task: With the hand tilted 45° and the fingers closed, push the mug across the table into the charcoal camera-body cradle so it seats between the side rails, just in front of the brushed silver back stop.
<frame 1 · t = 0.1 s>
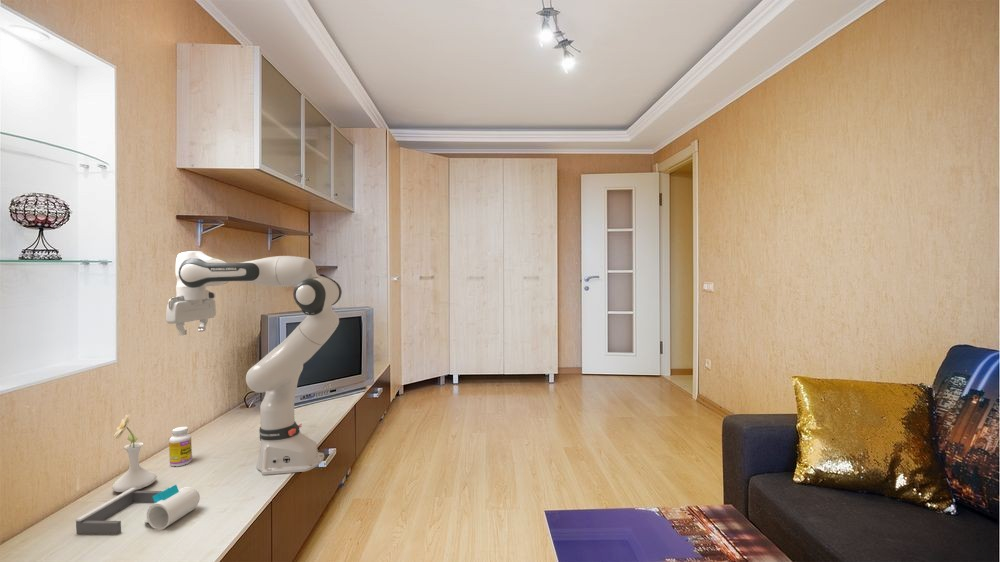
hand: (192, 333, 162), 48 cm above the tv stand, tool pointing down, fingers open, 8 cm apart
flower in vase: (134, 488, 145), on the tv stand
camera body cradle: (135, 516, 128), on the tv stand
supplement bottle: (181, 463, 164), on the tv stand
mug: (171, 517, 127), on the tv stand
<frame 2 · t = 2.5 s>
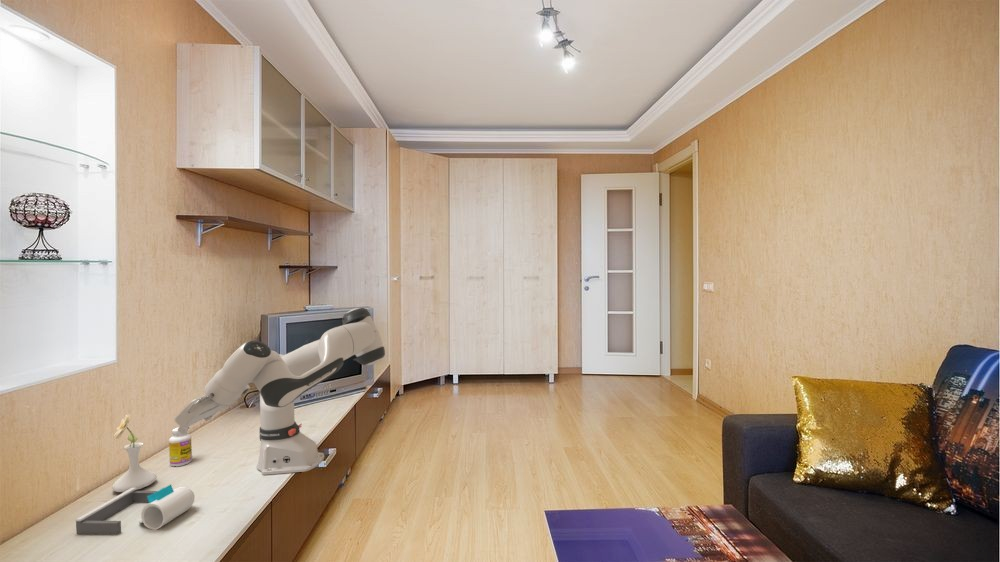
hand: (194, 424, 126), 27 cm above the tv stand, tool tilted 45°, fingers open, 8 cm apart
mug: (166, 517, 127), on the tv stand
everything else where it was.
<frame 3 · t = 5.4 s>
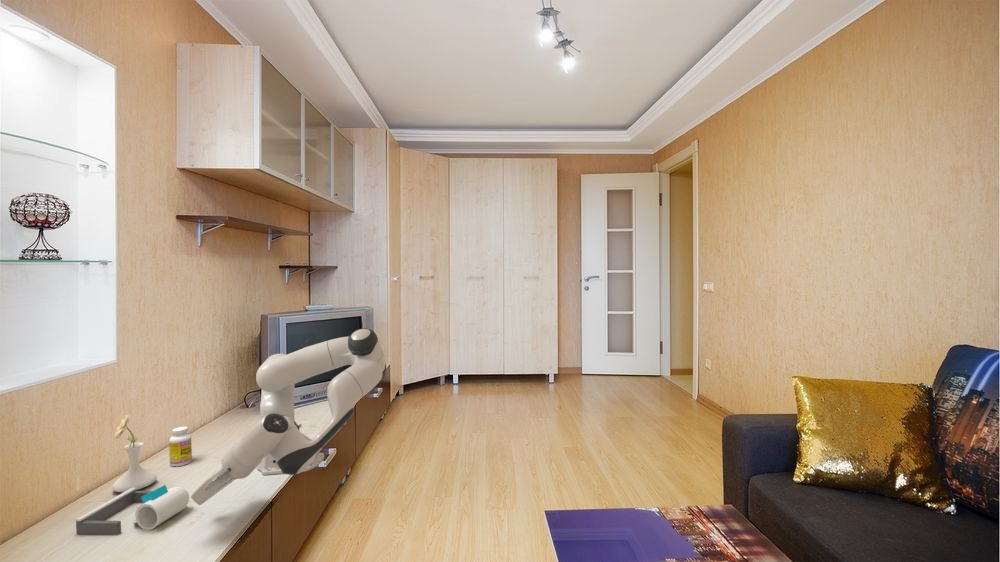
hand: (207, 496, 126), 6 cm above the tv stand, tool tilted 45°, fingers closed
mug: (160, 518, 127), on the tv stand
everything else where it was.
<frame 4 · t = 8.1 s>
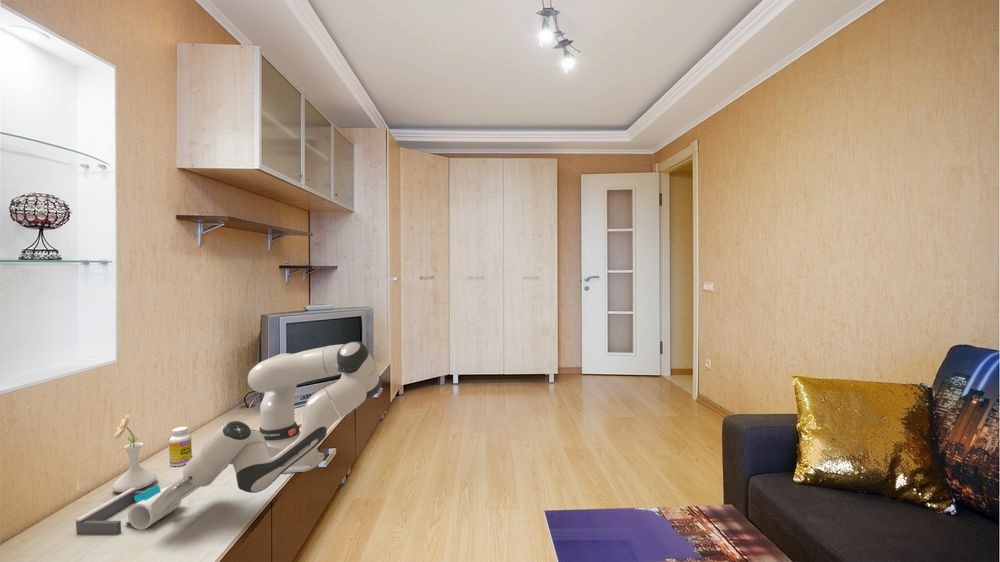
hand: (170, 504, 126), 4 cm above the tv stand, tool tilted 45°, fingers closed
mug: (153, 517, 127), on the tv stand, touching gripper
everything else where it was.
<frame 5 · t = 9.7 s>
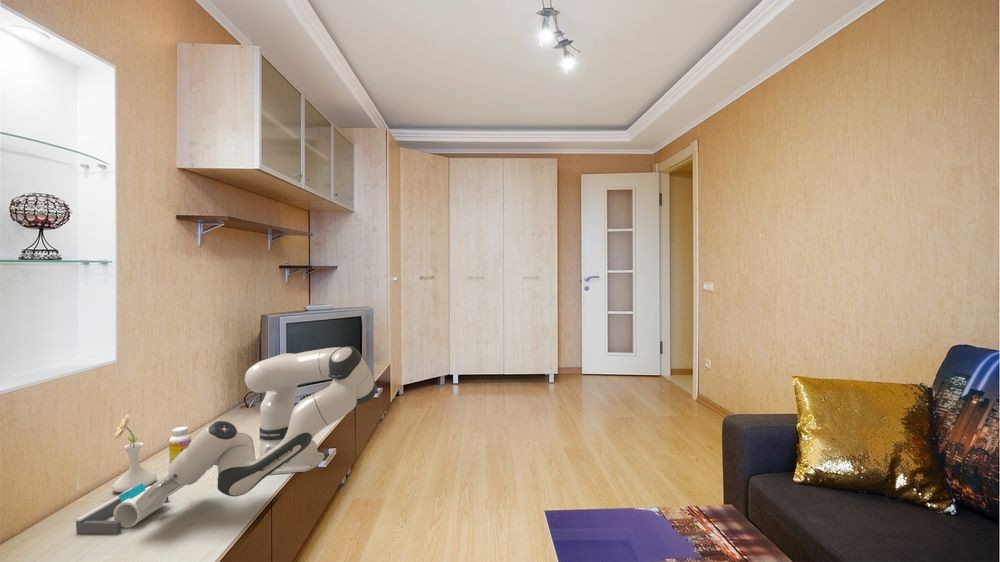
hand: (156, 501, 127), 4 cm above the tv stand, tool tilted 45°, fingers closed
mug: (138, 516, 128), on the tv stand, touching gripper
everything else where it was.
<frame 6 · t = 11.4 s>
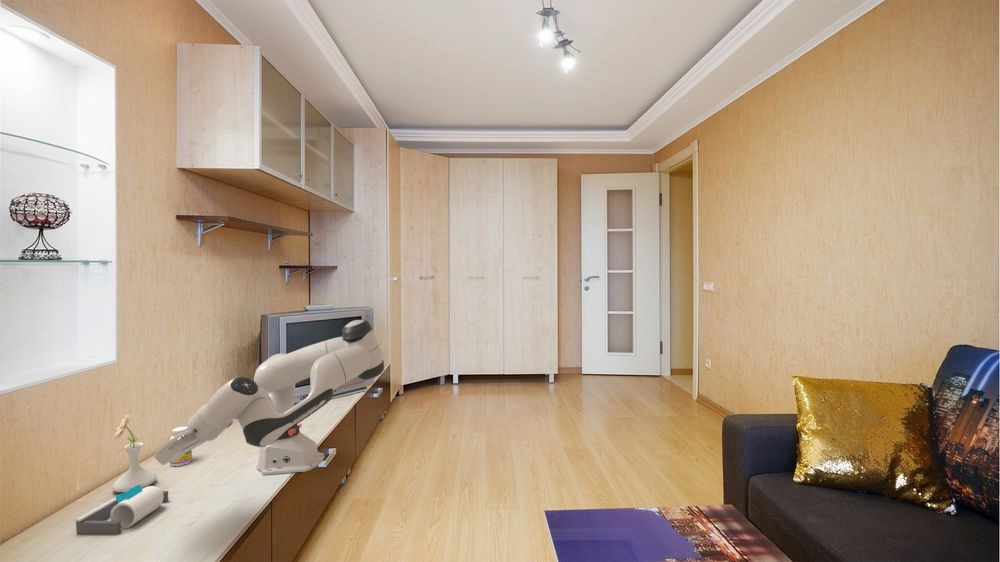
hand: (173, 458, 124), 18 cm above the tv stand, tool tilted 45°, fingers closed
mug: (134, 517, 128), on the tv stand
everything else where it was.
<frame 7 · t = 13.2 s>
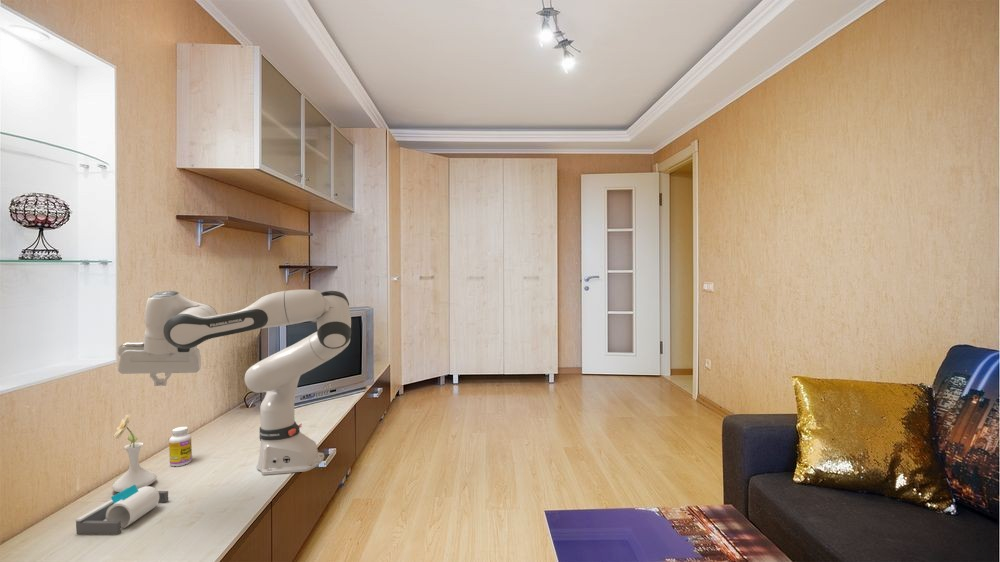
hand: (160, 385, 138), 35 cm above the tv stand, tool tilted 15°, fingers closed
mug: (130, 517, 128), on the tv stand
everything else where it was.
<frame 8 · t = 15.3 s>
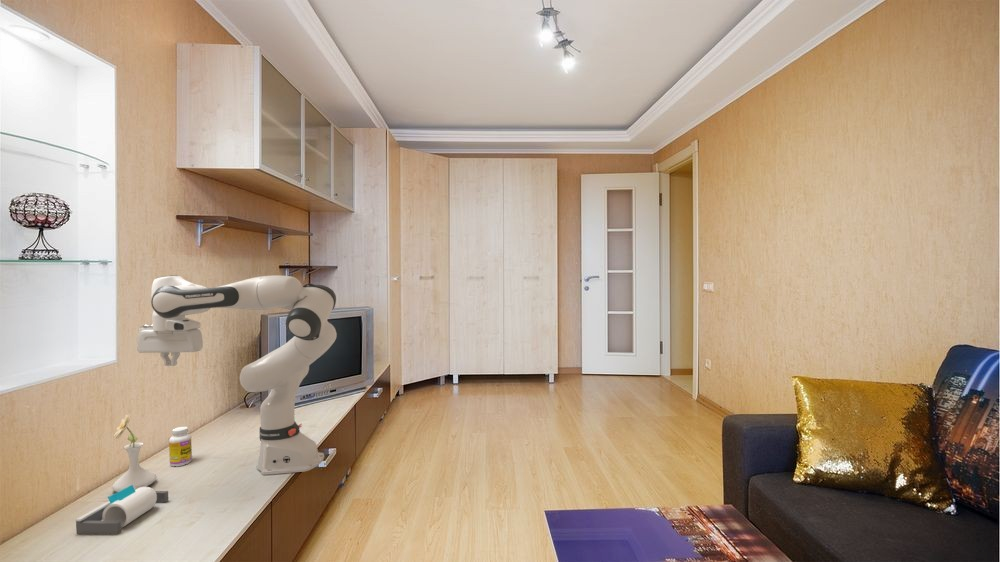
hand: (170, 365, 148), 39 cm above the tv stand, tool pointing down, fingers closed
nothing on the tv stand moved.
at the end: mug 2.8 cm off-centre on the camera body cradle, point 0.0 cm above the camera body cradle's base; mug tilted 0° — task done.
